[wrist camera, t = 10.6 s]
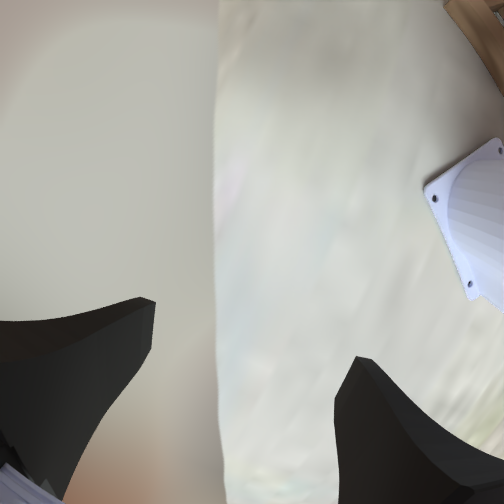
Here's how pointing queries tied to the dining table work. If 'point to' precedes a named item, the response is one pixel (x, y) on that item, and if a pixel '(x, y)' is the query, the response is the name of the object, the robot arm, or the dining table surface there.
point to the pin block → (482, 32)
